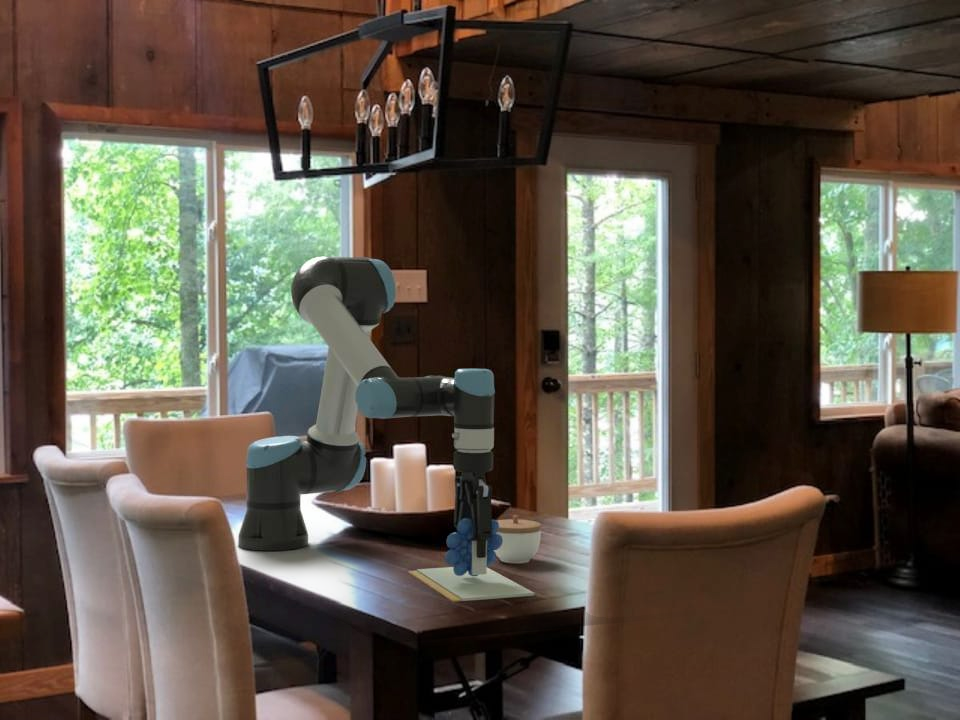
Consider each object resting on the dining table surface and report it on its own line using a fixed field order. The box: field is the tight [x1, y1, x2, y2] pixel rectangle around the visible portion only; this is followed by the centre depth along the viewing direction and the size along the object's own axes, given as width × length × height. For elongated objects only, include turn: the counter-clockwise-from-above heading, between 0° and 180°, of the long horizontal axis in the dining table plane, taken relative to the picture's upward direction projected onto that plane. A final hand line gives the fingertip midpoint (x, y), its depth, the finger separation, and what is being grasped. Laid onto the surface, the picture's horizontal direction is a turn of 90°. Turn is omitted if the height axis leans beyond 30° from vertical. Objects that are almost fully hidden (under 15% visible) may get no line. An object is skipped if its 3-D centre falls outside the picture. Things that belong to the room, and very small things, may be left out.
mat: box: [416, 566, 535, 602], centre depth 238 cm, size 26×14×1 cm, turn 21°
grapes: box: [444, 518, 503, 576], centre depth 238 cm, size 12×7×12 cm, turn 112°
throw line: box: [407, 570, 462, 603], centre depth 235 cm, size 26×2×1 cm, turn 21°
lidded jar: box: [493, 514, 542, 564], centre depth 260 cm, size 11×11×9 cm
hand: (472, 569), depth 238 cm, fingers closed on grapes, 7 cm apart
